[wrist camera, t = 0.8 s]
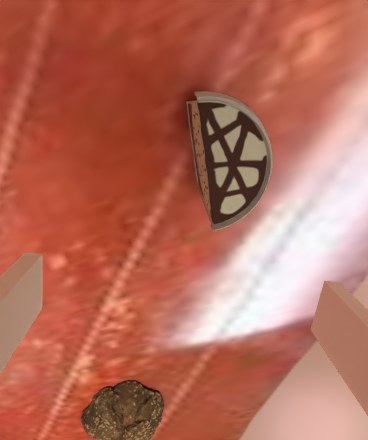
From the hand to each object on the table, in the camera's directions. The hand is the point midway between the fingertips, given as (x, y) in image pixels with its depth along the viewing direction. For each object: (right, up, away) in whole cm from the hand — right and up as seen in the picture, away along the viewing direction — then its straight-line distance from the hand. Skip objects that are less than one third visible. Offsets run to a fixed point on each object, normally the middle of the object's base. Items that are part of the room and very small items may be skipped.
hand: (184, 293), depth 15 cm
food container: (+4, +12, +22) cm, 25 cm away
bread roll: (-9, -27, +39) cm, 48 cm away
